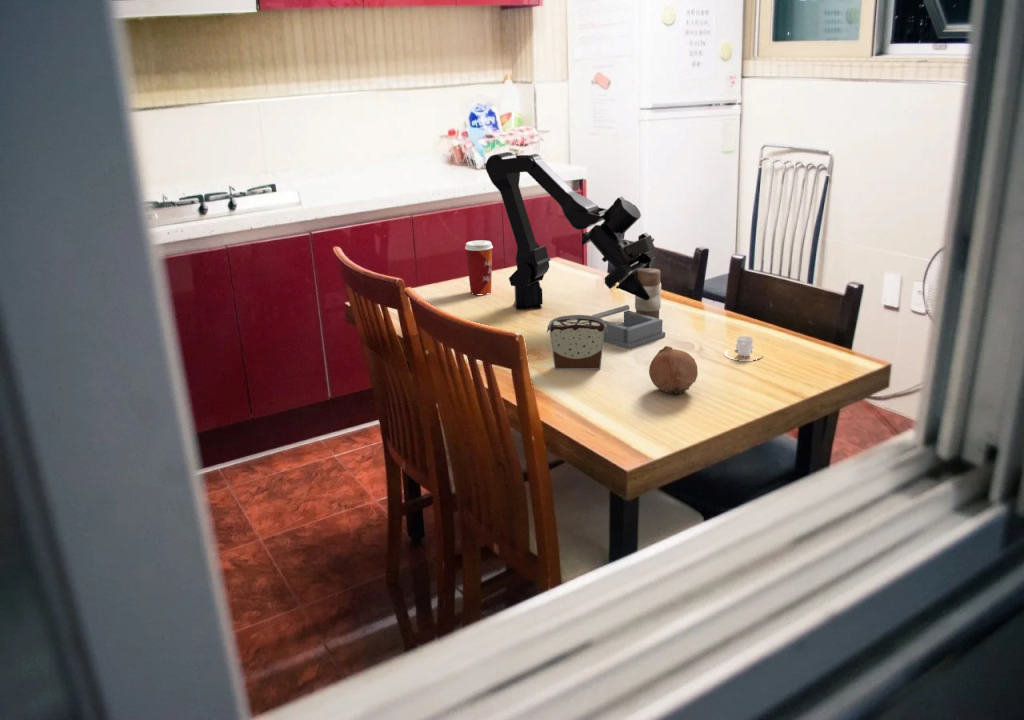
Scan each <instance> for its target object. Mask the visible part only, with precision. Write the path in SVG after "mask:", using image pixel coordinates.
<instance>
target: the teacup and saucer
mask: <svg viewBox="0 0 1024 720" xmlns="http://www.w3.org/2000/svg"><path fill="white" fill-rule="evenodd" d="M736 339H737V340H736V344H735V349H737V350H738V351H737V354H738V356H739V355H740V356H739V357H741V356H748V357H750V355H751V353H752V352H751V350H754V343H753V342H754V341H753V340H754V338H752V337H751V336H745V335H743V336H738V337H737V338H736ZM729 350H730V349H727V350H726V351H724V353H723V355H724V356H725V357H726V358H727V359H730V360H732V359H733V361H737V360H738V359H739V358H736V359H734V358H735V357H733V358H731V357H732V356H731V357H729V356H728V355H727V353H728V352H727V351H729ZM745 360H746V361H745ZM756 361H758V360H757V359H756ZM738 362H754V361H753V360H750V361H749V359H742V360H739V361H738Z"/></svg>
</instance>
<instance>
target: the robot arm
mask: <svg viewBox="0 0 1024 720" xmlns="http://www.w3.org/2000/svg"><path fill="white" fill-rule="evenodd" d="M484 167H485V171H486V173H487V175H488V177H489V180H490V181H491V183H492V185H494V187H495V188H496V189H497V190H498V191H499V193H500V195H501V199H502V203H503V205H504V208H505V212H506V216H507V218H508V221H509V224H510V228H511V230H512V231H511V232H512V235H513V237H514V240H515V244H516V255H515V264H516V270H515V271H514V272H513V273H512V274H511V275H509V277H508V280H509V284H510V286H511V287H514V302H513V305H514V307H515V309H516V310H518V311H519V310H537V309H542V308H543V307H542V305H543V303H544V301H543V288H542V286H541V283H540V281H543V280H544V277H545V275H546V273H547V272H548V271H549V269H550V261H551V259H550V257H549V255H548V251H547V250H548V249H547V247H546V245H542V246H541V245H539V244H538V242H537V241H536V238H535V235H534V233H533V229H532V226H531V222H530V219H529V215H528V213H527V209H526V206H525V202H524V199H523V196H522V193H521V189H520V178H521V173H527V174H528V175H529V176H530V177H531V178H532V179H533V180H534V181H535V182H536V183H537V184H538V185H539V186H540V187H541V188H542V189H543V190H544V191H545V192H546V193H547V194H549V196H551V198H553V199H554V201H555V202H557V203H558V204H559V206H560V208H561V209H562V210H561V211H562V213H563V216H564V217H565V218H566V220H567V221H568V222H569V224H570V225H571V227H573V228H574V229H576V230H586V229H588V228H590V227H592V226H593V227H592V228H591V229H590V230H589V231H585V232H583V233H582V234H581V235H582V238H581V239H582V240H581V244H582V245H583V246H584V245H586V244H589V243H592V245H593V246H594V247H595V248H596V250H598V252H600V254H601V255H602V256H603V257H602V258H601V260H602V262H603V263H606V262H608V264H609V265H610V266H611V267H612V270H611V271H610V272H609V273H608V274H607V275H606V276H605V277H604V285H605V286H606V287H607V289H609V290H612V288H614V287H615V289H619V290H622V291H624V292H626V293H629V294H631V295H634V297H635V296H637V297H640V298H642V299H644V300H646V301H647V300H648V299H650V296H649V295H648V293H647V292H646V290H645V289H644V287H643V286H642V284H641V283H640V281H639V280H638V278H637V270H639V269H643V268H652V267H653V264H654V259H655V258H656V255H655V254H654V252H653V251H652V250H653V249H656V248H655V245H654V242H655V238H654V237H653V236H652V235H651V234H648V233H647V232H644V233H642V234H639V235H638V239H637V240H635V241H633V242H631V243H630V241H629V240H627V239H624V240H622V238H620V235H618V234H625V233H626V232H627V231H628V230H629V229H630V228H631V227H632V226H633V225H634V224H636V222H638V220H639V219H640V218H641V216H642V215H641V212H640V210H639V209H638V206H636V204H634V203H632V202H630V201H629V200H626V199H625V198H624V197H623V196H619V197H617V198H616V199H615V200H614V202H613V204H612V205H610V207H609V208H604V207H600V206H598V204H596V203H595V202H593V201H592V200H591V199H589V198H588V197H586V196H584V195H582V194H580V193H578V192H576V191H575V190H574V189H573V188H571V187H570V186H569V185H568V184H567V183H566V181H564V180H563V179H562V178H561V177H560V176H559V175H558V174H557V173H556V171H554V169H552V168H551V167H550V166H549V165H548V164H547V163H546V162H545V161H544V159H543V158H542V156H540V155H539V154H537V153H533V154H523V155H522V154H521V155H516V154H513V153H512V152H509V151H506V152H501V153H495V154H492V155H490V156H489V157H488V159H487V161H486V162H485V166H484ZM602 221H603V222H602ZM600 222H602V223H601V224H598V223H600ZM617 283H618V285H616V284H617Z"/></svg>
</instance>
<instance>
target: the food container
mask: <svg viewBox="0 0 1024 720" xmlns="http://www.w3.org/2000/svg"><path fill="white" fill-rule="evenodd" d="M605 321H606V320H605ZM605 321H604V319H602V318H598V317H594V316H592V315H586V314H569V315H568V314H567V315H562V316H559V317H555V318H553V319H551V320H550V321H549V323H548V325H547V329H546V333H549V336H550V344H551V351H552V359H553V368H554V370H586V371H587V370H591V371H592V370H594V371H595V370H601V367H602V358H603V348H604V342H605V341H604V333H605V330H606V331H607V326H606V324H605ZM607 333H608V331H607Z"/></svg>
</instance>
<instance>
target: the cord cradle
mask: <svg viewBox="0 0 1024 720" xmlns="http://www.w3.org/2000/svg"><path fill="white" fill-rule="evenodd" d="M619 313H623V322H620V323H615V322H611V321H607V320H604V319H603V320H604V321H605V324H606V326H607V331H608V333H607V331H606V330H605V333H604V342H606V343H609V344H612V345H615V346H618V347H621V348H624V349H628V350H630V349H632V348H635V347H639V346H641V345H644V344H648V343H651V342H653V341H656V340H659V339H662V338H665V337H666V332H665V331H663V319H661V318H659V319H658V318H654V317H651V316H647V315H643V314H640V313H636V311H632V310H630V305H628V304H626V305H622V306H619V307H615V308H612V309H609V310H605V311H602V312H598V313H595V314H592V315H591V316H594V317H598V318H601V319H602V318H606V317H608V316H612V315H616V314H619Z"/></svg>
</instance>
